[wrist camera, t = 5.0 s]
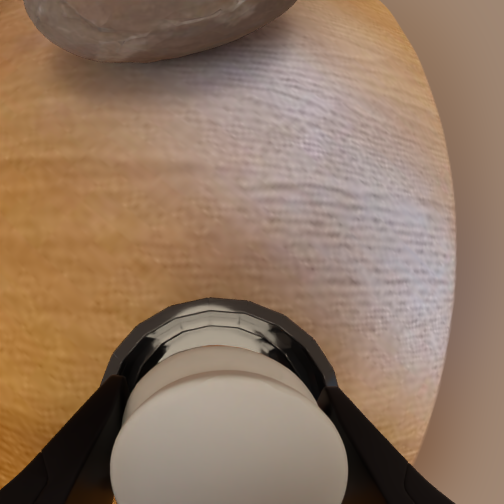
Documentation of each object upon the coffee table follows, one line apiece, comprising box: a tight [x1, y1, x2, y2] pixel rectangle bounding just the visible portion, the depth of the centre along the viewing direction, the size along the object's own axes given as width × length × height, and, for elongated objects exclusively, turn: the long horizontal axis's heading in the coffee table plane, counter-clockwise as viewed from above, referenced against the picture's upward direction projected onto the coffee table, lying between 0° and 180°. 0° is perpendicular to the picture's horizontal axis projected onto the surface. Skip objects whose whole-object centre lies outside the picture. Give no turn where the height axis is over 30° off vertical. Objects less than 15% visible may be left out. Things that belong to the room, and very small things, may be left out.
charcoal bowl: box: [100, 297, 338, 402], centre depth 12 cm, size 9×9×4 cm
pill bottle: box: [110, 345, 348, 504], centre depth 9 cm, size 6×6×10 cm
